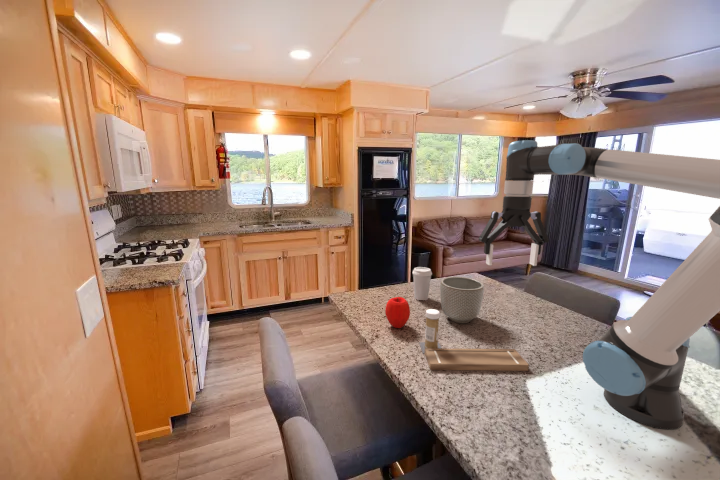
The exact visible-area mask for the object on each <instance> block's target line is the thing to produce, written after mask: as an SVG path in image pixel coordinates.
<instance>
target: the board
mask: <svg viewBox="0 0 720 480" xmlns="http://www.w3.org/2000/svg"><path fill="white" fill-rule="evenodd" d="M424 356H425V359H426V363H427V365H428V367H429V371H497V372H498V371H501V372H502V371H503V372H504V371H505V372H507V371H509V372H510V371H511V372H512V371H513V372H514V371H515V372H516V371H517V372H519V371H520V372H521V371H523V372H525V371H527V372H528V371H529V366H530V365H529V363H528V362H527V361H526V360H525V359H524V358H523V356H521V355H520V353H519V352H518V351H517V349H515V348H443V347H441V348H425V354H424Z"/></svg>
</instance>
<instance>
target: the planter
mask: <svg viewBox="0 0 720 480" xmlns="http://www.w3.org/2000/svg"><path fill="white" fill-rule="evenodd" d="M439 292H440V293H439V294H440V295H439V297H440V306H441V310H442V312H443V313H444V315H446V316H447V317H448V319H449V320H450V321H452V322H453V323H457V324H467V323H469V322H471V320H474V319H476V318H477V316H479V315H480V312H481V308H482V306H483V305H482V303H483V301H484V293H485V285H484V283H483V282H481V281H480V280H477V279H474V278H470V277H466V276H449V277H444V278H442V279H440V284H439Z"/></svg>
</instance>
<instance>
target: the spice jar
mask: <svg viewBox="0 0 720 480" xmlns="http://www.w3.org/2000/svg"><path fill="white" fill-rule="evenodd" d="M440 314H441V313H440V311H439V310H438V309H433V308H429V309H426V310H425V318H426V319H425V329H424V330H425V332H424V334H425V335H424V338H425V339H424V342H425V348H438V342H439V325H440V324H439V321H440V316H441V315H440Z"/></svg>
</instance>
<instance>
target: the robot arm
mask: <svg viewBox="0 0 720 480" xmlns="http://www.w3.org/2000/svg"><path fill="white" fill-rule="evenodd" d="M505 158H506V162H505V163H506V165H505V168H506V169H505V180H504V187H503V189H504V190H503V194H504V196H503V198H502V199H503V200H502V211H501V212H498V211H495V210H493V211H492V212H491V214H490V218H489V220H488V221H487V223H486V225H485V227H484V229H483V231H482V232H481V234H480V235H479V237H478V241H479V242H481V243H484V248H483V253H484V254H485V256H486V257H485V264H486V265H488V266H493V256H494V244H492V243H493V242H494V241H495V240H496V239H497V238H498V237H499V236H500V235H501V234H502V232H504V230H506V229H508V228H509V227H511V228H514V227H517V228H521V227H522V228H523V229H524V231H525V232H526V233H527V234H528V236H529V237H530V238H531V239H532V241H533V242H531V246H530V253H529V254H530V255H529V265H531V266H533V267H537V265H538V258H539V257H538V256H539V255H541V252H542V246H544V244H546V243H549V241H550V239H549V237H548V235H547V231H546V230H545V226H544V224H543V222H542V214H541V212H539V211H532V212H531V208H532V199H533V197H532V194H533V189H534V178H535V176H537V175H538V176H539V175H545V176H546V175H560V176H566V175H567V176H570V175H571V176H572V175H573V176H585V177H589V178H596V179H601V180H602V179H604V180H610V181H614V182H621V183H625V184H630V185H631V184H632V185H637V186H638V185H639V186H644V187H650V188H655V189H659V190H660V189H661V190H666V191H673V192H679V193H683V194H684V193H685V194H689V195H694V196H695V195H696V196H700V197H706V198H712V199H713V198H714V199H717V200H718V199H720V159H717V158H716V159H714V158H706V157H704V158H703V157H695V156H685V155H682V156H681V155H672V154H664V153H663V154H662V153H650V152H643V151H642V152H641V151H640V152H639V151H632V150H631V151H629V150H619V149H609V148H607V149H606V148H599V147H592V146H588V147H587V146H585V147H584V146H582V145H581V144H580V143H566V142H564V143H561V144H555V145H554V144H553V145H545V146H538V142H537V141H536V140H534V139H533V140H531V139H530V140H528V139H527V140H526V139H525V140H516V141H512V142H510V143H509V144H508V148H507V154H506V157H505ZM530 195H531V196H530ZM500 218H501V219H502V220H501V221H500V222H499V223H498V225H497V226H496V224H497V222H498V220H500ZM530 218H531V220H532V222H533V225H534V227H535V230H534V229H533V227H532V225H531V224H530V222H529V219H530ZM708 222H709V226H710V228H711V231H710V232H709V233H708V234H707V235H706V236H705V238H704V239H703V240H702V241H701V242H699V244H698V245H697V247H695V248H694V250H693V251H692V252H691V253H689V255H688V256H687V257H686V258H685V259H684V261H683V262H681V264H680V265H679V266H678V267H677V268H676V269H675V270H674V271H673V272H672V273H671V274H670V275H669V276H668V278H666V279H665V281H664V282H663V283H662V284H661V285H660V286H659V287H658V289H657V290H655V292H654V293H652V295H651V296H650V297H649V298H648V299H647V300H646V301H645V302H644V304H642V306H640V308H639V309H638V310H637V311H636V312H635V313H634V314H633V315H632V316H628V317H626V318H625V319H619V320H617V321H615V322H614V323H613V324H612V325H611V327H610V328H609V329H608V330H606V332H605V333H604V334H603V335H602V336H601V337H600V338H598V339H597V340H593V341H591V342H590V343H588V345H586V347H585V348H584V350H583V352H582V362H583V364H584V368H585V371H586V372H587V373H588V375H589V376H590V377H591V379H592V381H594V383H596V384H597V385H599V386H600V387H601V388H603V397H604V399H605V401H606V403H608V404H609V405H610V407H612V408H613V409H614V410H616V411H617V412H618V413H620V414H621V415H623V416H625V417H626V418H629V419H631V420H633V421H634V422H637V423H640V424H642V425H645V426H649V427H652V428H655V429H656V428H657V429H662V430H676V429H680V428H681V427H682V426H683V424H684V420H685V411H684V409H683V407H682V405H683V404H682V399H681V396H680V395H681V394H680V386H681V382H682V378H683V374H684V369H685V364H686V360H687V357H688V352H689V348H690V347H691V346H690V340H691V339H690V338H691V337H692V336H693V335H695V334H696V333H697V332H698V331H699V330H700V329H701V328H703V326H705V325H706V324H707V323H708V322H709V321H710V320H711V319H713V317H715V316H716V315H717V314H718V313H719V312H720V205H719V206H718V207H717V209H715V211H714V212H713V213H712V214H711V215H710V216H709V218H708ZM495 226H496V227H495ZM494 227H495V229H494ZM492 230H493V231H492Z"/></svg>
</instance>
